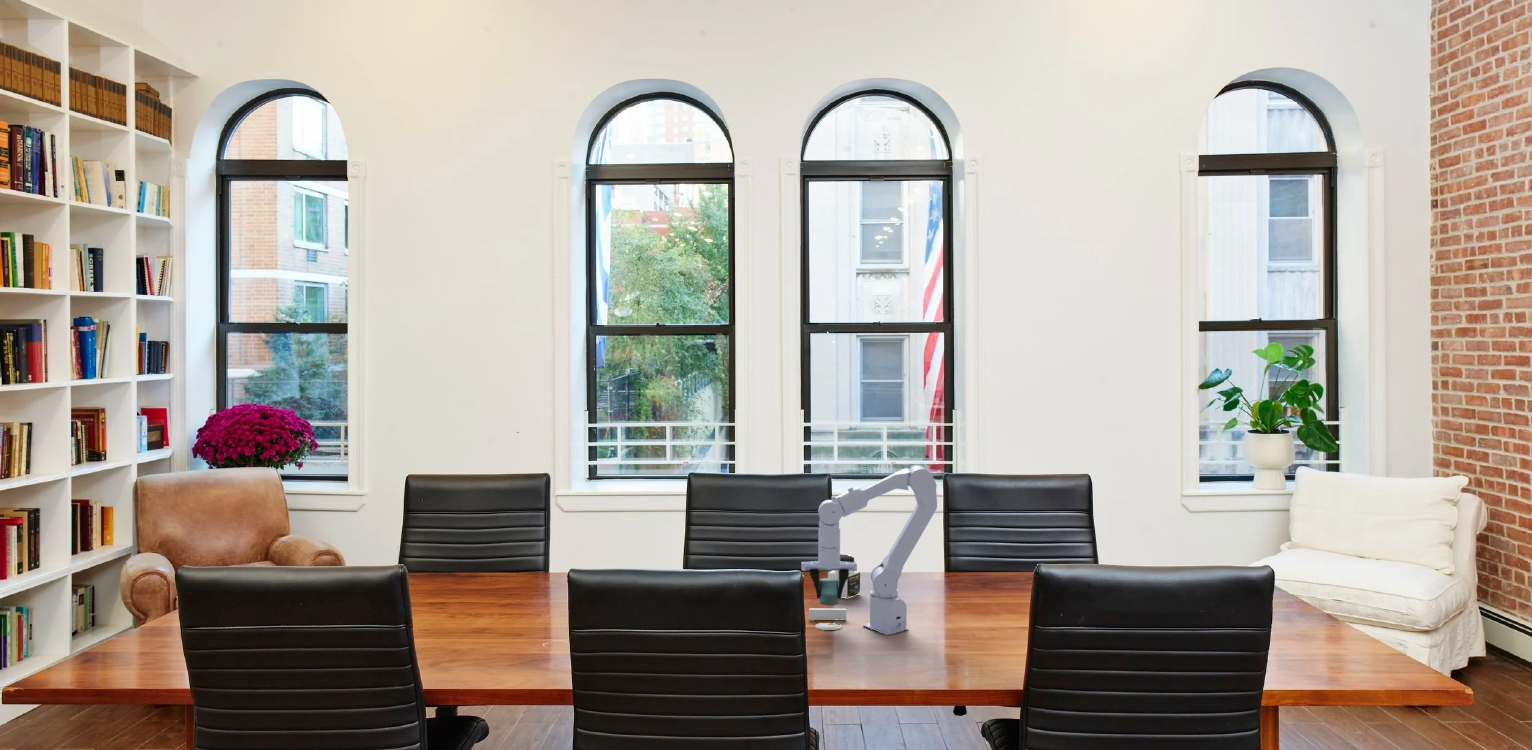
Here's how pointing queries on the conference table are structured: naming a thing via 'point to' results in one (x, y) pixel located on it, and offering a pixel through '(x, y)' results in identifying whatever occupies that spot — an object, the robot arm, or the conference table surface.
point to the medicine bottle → (852, 581)
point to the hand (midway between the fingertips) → (828, 597)
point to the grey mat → (827, 626)
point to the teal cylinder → (828, 591)
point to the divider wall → (826, 614)
